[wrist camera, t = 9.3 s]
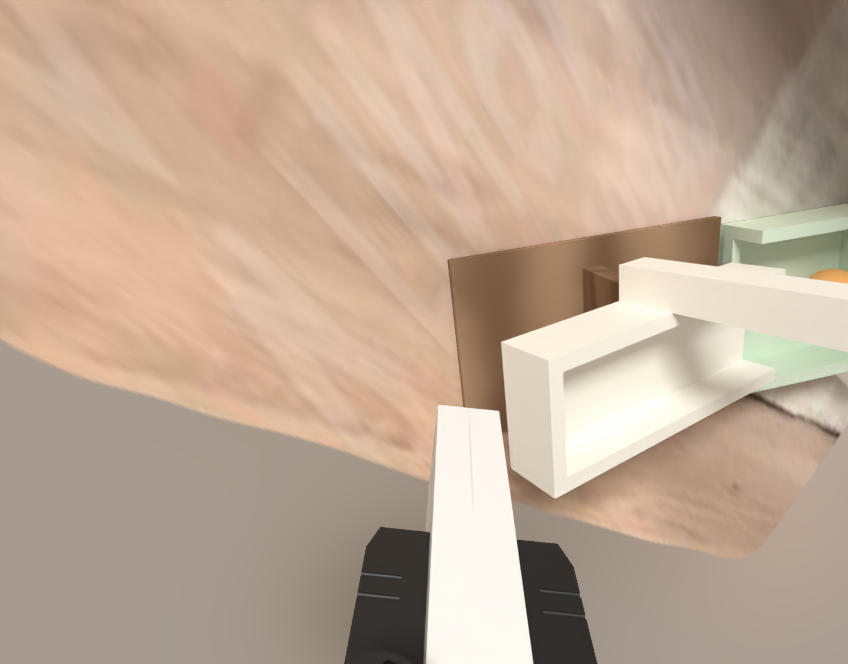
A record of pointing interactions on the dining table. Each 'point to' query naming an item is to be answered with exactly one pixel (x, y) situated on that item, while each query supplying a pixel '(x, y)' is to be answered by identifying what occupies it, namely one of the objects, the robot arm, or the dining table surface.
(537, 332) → the seesaw
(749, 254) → the tray
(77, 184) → the dining table surface
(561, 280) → the stand
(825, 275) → the ball
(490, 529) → the robot arm
